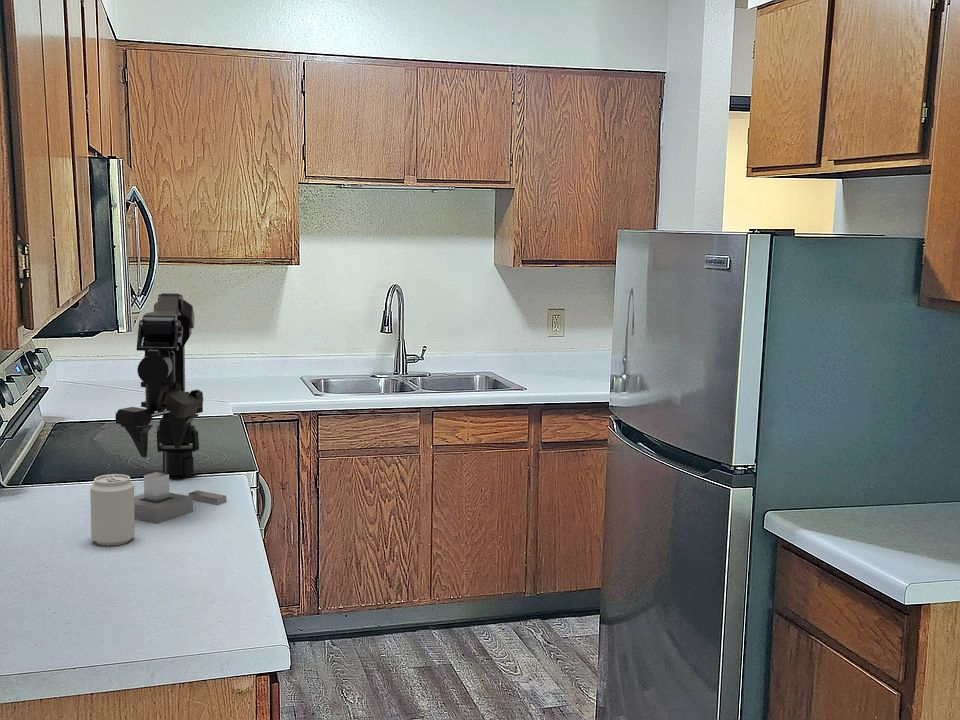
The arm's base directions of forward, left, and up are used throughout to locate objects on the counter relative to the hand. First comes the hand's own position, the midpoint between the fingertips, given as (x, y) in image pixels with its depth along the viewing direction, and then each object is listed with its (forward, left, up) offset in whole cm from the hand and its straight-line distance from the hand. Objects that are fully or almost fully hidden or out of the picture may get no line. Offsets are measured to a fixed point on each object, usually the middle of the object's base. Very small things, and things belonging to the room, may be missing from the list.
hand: (161, 452), depth 196 cm
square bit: (+1, -2, -12) cm, 12 cm away
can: (+7, -19, -12) cm, 24 cm away
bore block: (+1, -2, -12) cm, 12 cm away
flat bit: (+3, +11, -13) cm, 17 cm away
